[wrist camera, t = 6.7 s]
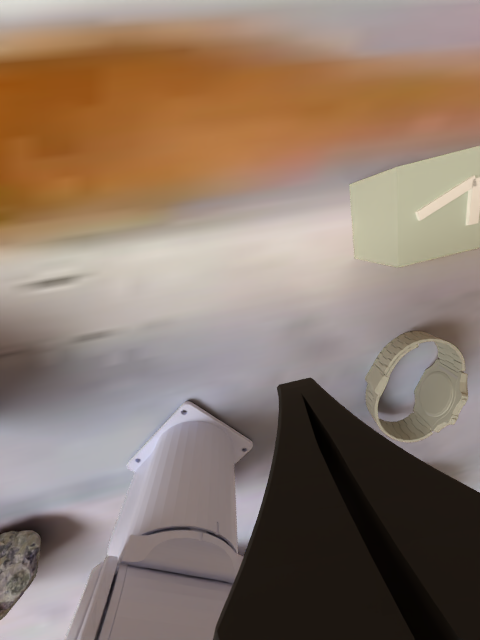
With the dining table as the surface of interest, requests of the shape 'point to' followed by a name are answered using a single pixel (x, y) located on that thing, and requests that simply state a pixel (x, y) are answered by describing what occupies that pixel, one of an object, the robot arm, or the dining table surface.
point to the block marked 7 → (418, 210)
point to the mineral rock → (17, 566)
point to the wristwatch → (420, 388)
